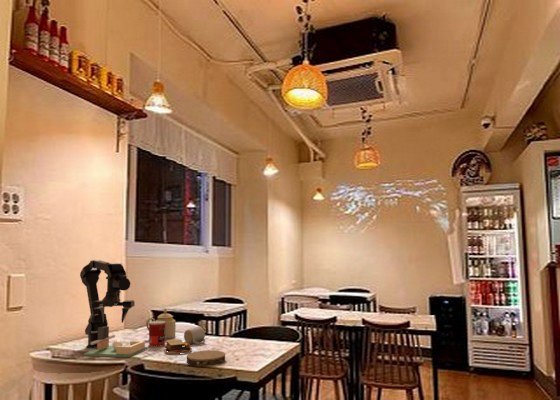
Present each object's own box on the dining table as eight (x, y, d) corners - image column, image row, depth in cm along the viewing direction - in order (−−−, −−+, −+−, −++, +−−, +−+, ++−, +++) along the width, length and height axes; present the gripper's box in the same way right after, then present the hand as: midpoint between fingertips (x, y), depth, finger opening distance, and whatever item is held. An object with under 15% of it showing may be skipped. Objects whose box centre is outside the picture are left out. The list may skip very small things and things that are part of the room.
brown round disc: (233, 361, 188) (233, 353, 189) (203, 369, 176) (203, 361, 177) (208, 355, 199) (208, 348, 199) (179, 362, 187) (179, 355, 187)
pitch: (84, 355, 202) (84, 346, 202) (105, 347, 217) (105, 339, 218) (128, 357, 197) (128, 347, 197) (146, 349, 212) (146, 340, 213)
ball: (110, 351, 205) (110, 341, 206) (115, 348, 210) (116, 339, 210) (118, 351, 204) (119, 341, 205) (124, 349, 209) (124, 339, 209)
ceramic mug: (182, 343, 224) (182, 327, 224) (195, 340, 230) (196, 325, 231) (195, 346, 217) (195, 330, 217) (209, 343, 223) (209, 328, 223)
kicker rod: (88, 352, 201) (89, 330, 202) (110, 344, 217) (111, 324, 218) (94, 352, 200) (94, 330, 201) (116, 344, 217) (116, 324, 218)
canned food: (161, 346, 217) (161, 323, 219) (145, 346, 219) (146, 323, 220) (168, 343, 225) (168, 320, 226) (153, 342, 227) (153, 320, 228)
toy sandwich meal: (167, 356, 198) (167, 345, 198) (161, 350, 210) (161, 340, 210) (195, 353, 203) (195, 342, 203) (188, 347, 215) (188, 337, 216)
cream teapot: (160, 341, 231) (160, 311, 232) (144, 339, 236) (145, 310, 238) (179, 335, 244) (179, 307, 246) (164, 334, 249) (164, 306, 251)
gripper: (86, 291, 204) (85, 325, 203) (127, 290, 205) (126, 325, 203) (96, 288, 216) (95, 321, 214) (135, 288, 216) (134, 321, 214)
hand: (112, 322), depth 211 cm, fingers open, 9 cm apart
